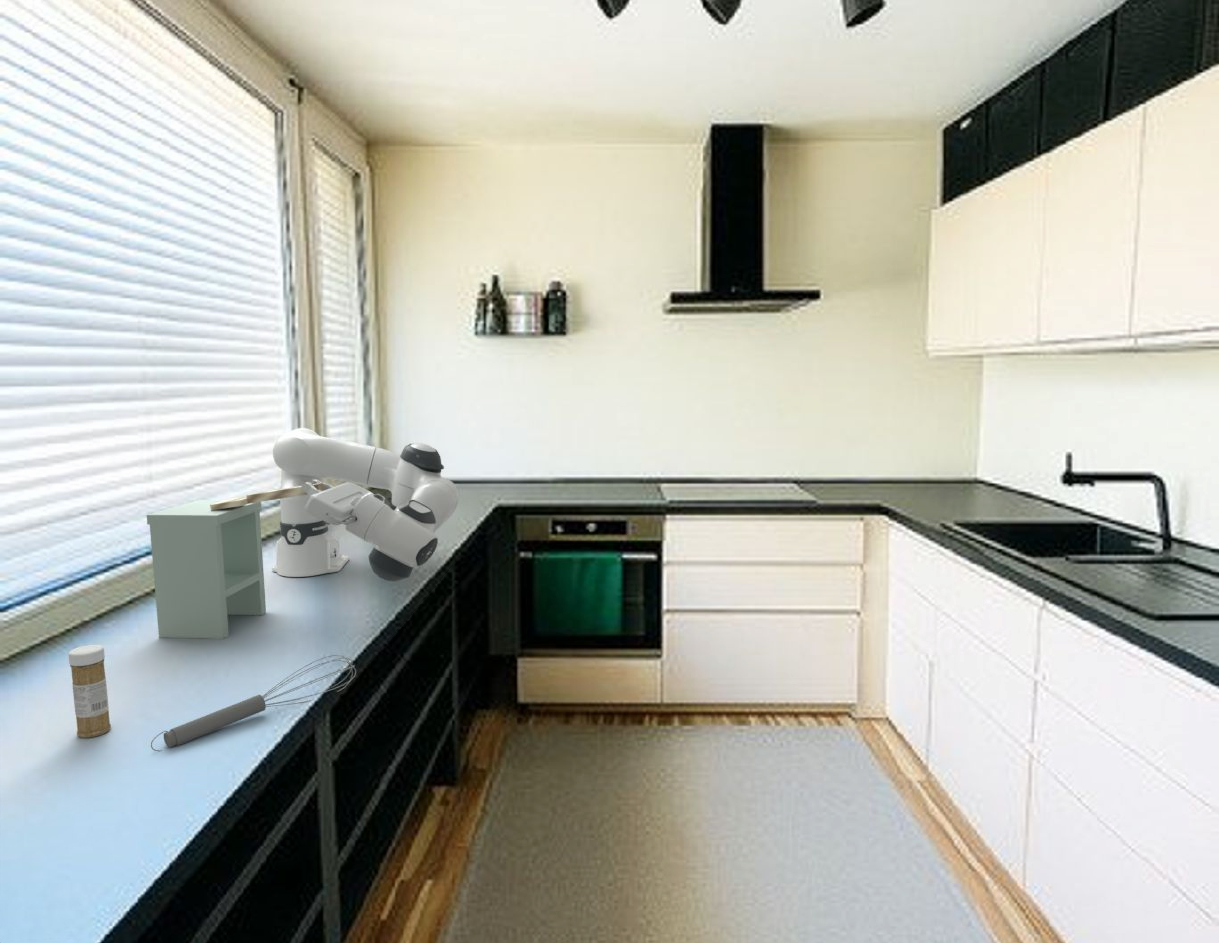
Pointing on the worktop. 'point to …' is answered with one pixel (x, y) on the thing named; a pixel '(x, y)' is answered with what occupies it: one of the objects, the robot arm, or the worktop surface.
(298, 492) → the turner
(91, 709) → the sprinkles bottle
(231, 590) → the shelf
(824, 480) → the worktop surface
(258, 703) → the kitchen whisk
